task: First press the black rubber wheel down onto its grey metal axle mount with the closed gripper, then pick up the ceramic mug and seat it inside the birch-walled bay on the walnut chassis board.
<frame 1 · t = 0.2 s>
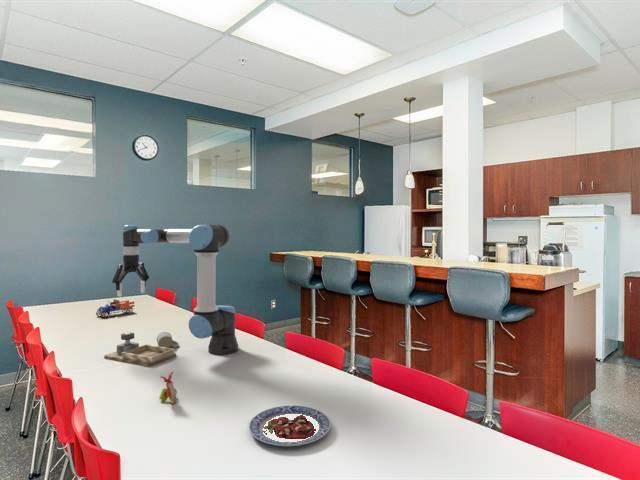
hand: (131, 294, 215), 27 cm above the table, fingers open, 13 cm apart
ceramic mug: (167, 347, 214), on the table
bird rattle: (170, 402, 149), on the table
ceramic plate: (290, 430, 129), on the table
chassis board: (140, 356, 198), on the table
toy truck: (115, 315, 289), on the table
wheel: (127, 339, 201), point 7 cm above the table, slide at 0.0 cm
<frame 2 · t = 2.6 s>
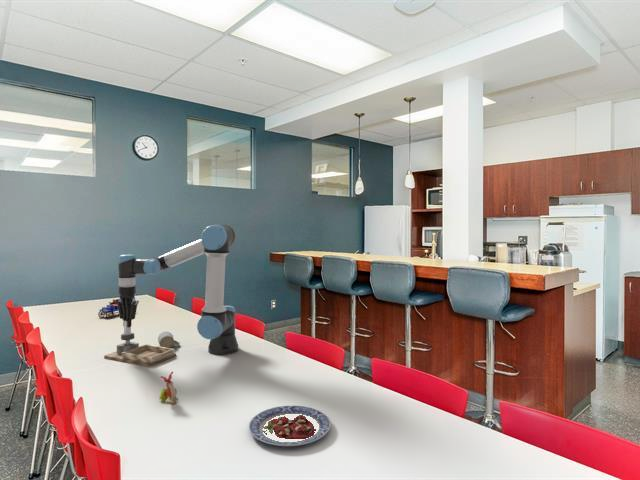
hand: (127, 333, 201), 11 cm above the table, fingers closed
wheel: (127, 340, 201), point 7 cm above the table, slide at 0.1 cm, touching gripper
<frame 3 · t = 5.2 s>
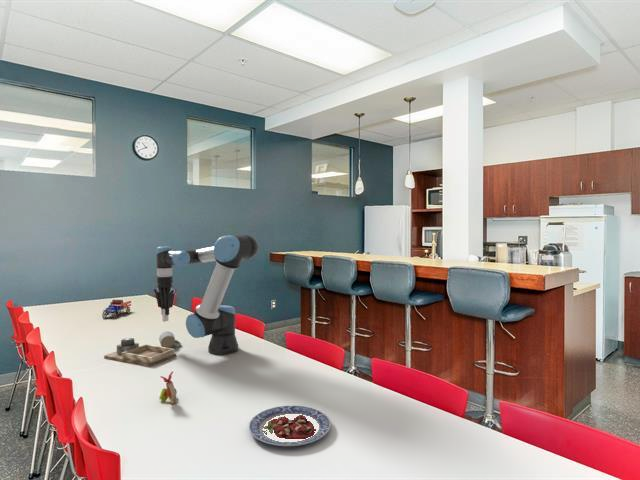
hand: (165, 321, 213), 14 cm above the table, fingers closed
wheel: (127, 345, 201), point 5 cm above the table, slide at 2.8 cm
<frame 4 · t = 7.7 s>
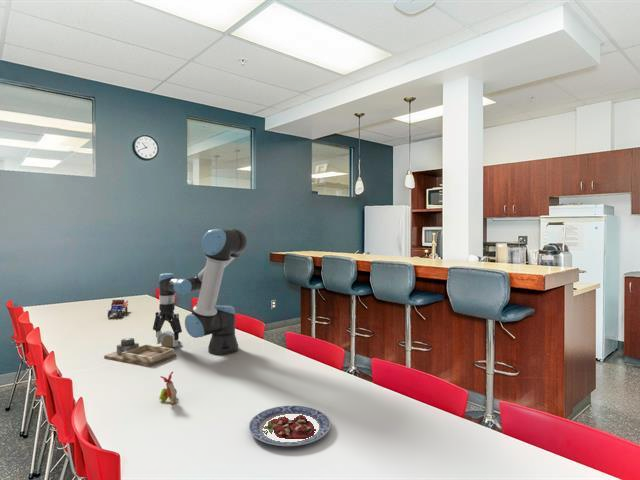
hand: (167, 344, 214), 1 cm above the table, fingers closed on ceramic mug, 10 cm apart
ceramic mug: (170, 346, 215), on the table, touching gripper
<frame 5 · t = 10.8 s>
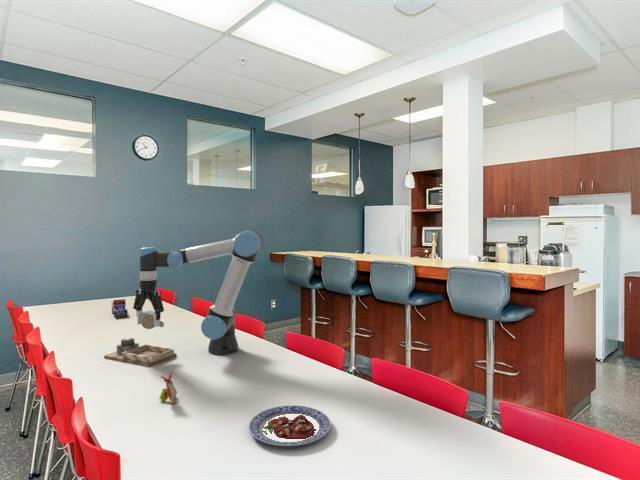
hand: (148, 325, 196), 16 cm above the table, fingers closed on ceramic mug, 10 cm apart
ceramic mug: (152, 327, 198), point 14 cm above the table, touching gripper
when the fingers open (4 cm above the table, at t = 13.6 s): ceramic mug drops 2 cm, resting on chassis board.
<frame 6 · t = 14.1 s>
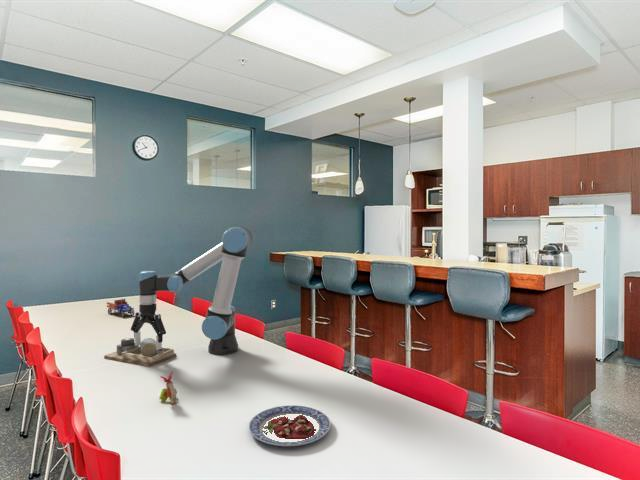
hand: (148, 347, 196), 5 cm above the table, fingers open, 13 cm apart
ceramic mug: (152, 355, 198), point 1 cm above the table, touching chassis board
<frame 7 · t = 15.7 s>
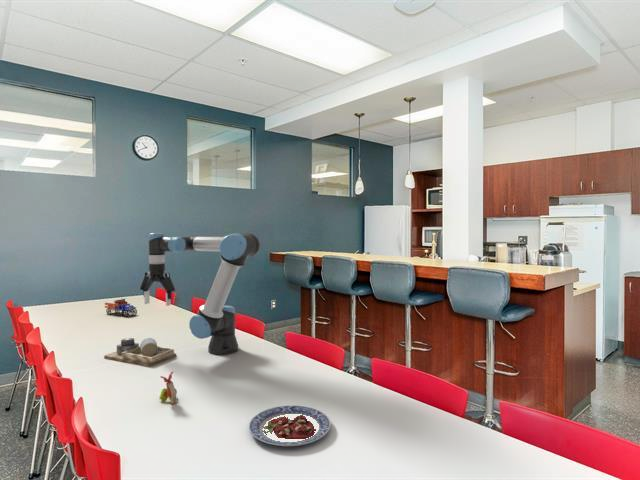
hand: (157, 304, 208), 24 cm above the table, fingers open, 13 cm apart
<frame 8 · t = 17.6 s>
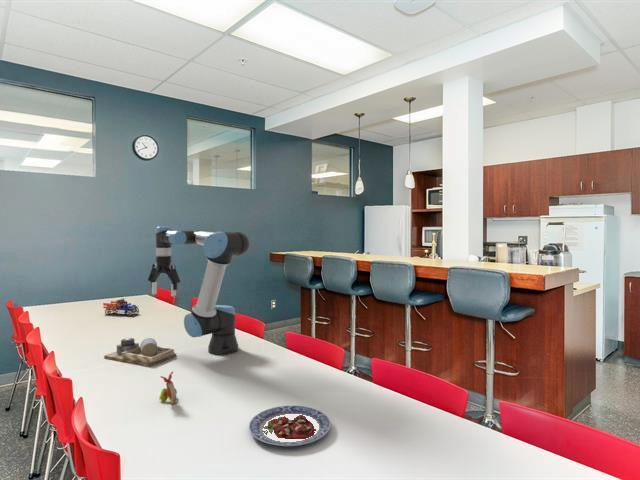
hand: (163, 295, 218), 27 cm above the table, fingers open, 13 cm apart
at the end: ceramic mug inside the target area on the chassis board (1.8 cm from its centre), point 1.0 cm above the chassis board's base; ceramic mug tilted 1°; ceramic mug touching chassis board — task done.
